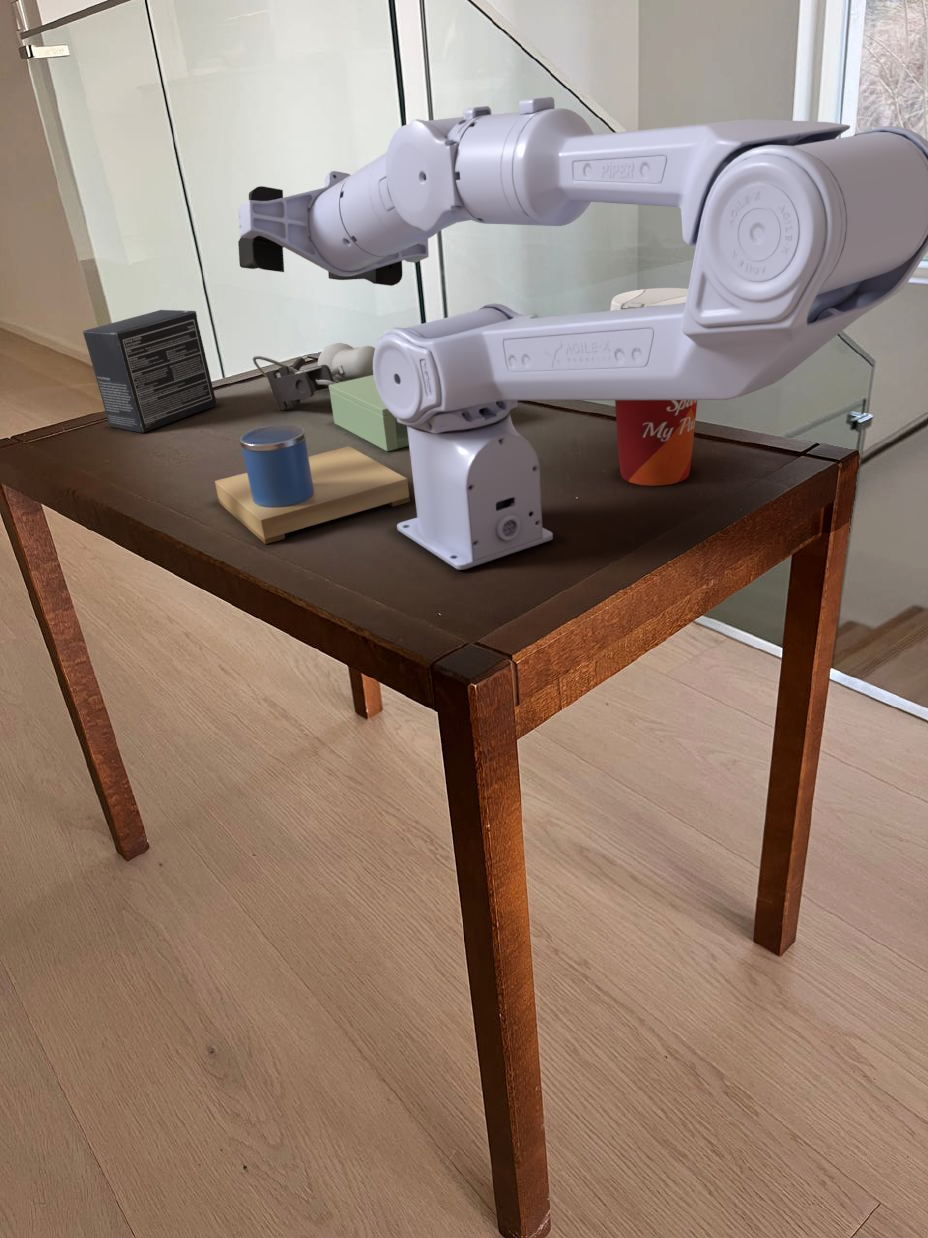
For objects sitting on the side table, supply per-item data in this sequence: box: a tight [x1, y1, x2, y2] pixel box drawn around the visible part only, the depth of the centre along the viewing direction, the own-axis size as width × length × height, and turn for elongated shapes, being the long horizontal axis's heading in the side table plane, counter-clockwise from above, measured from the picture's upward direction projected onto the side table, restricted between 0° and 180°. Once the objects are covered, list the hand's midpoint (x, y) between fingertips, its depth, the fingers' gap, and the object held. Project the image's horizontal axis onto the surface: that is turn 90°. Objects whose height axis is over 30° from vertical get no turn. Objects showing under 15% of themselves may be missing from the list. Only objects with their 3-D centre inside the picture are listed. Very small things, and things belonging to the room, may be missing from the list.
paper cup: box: [609, 287, 698, 487], centre depth 74 cm, size 8×8×14 cm
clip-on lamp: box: [252, 342, 375, 411], centre depth 107 cm, size 12×6×18 cm
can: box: [239, 423, 314, 507], centre depth 73 cm, size 5×5×5 cm
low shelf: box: [214, 445, 411, 545], centre depth 78 cm, size 11×12×2 cm
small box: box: [82, 309, 218, 434], centre depth 102 cm, size 11×6×10 cm, turn 144°
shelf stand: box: [328, 375, 409, 452], centre depth 94 cm, size 12×12×4 cm
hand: (288, 260), depth 76 cm, fingers open, 7 cm apart
